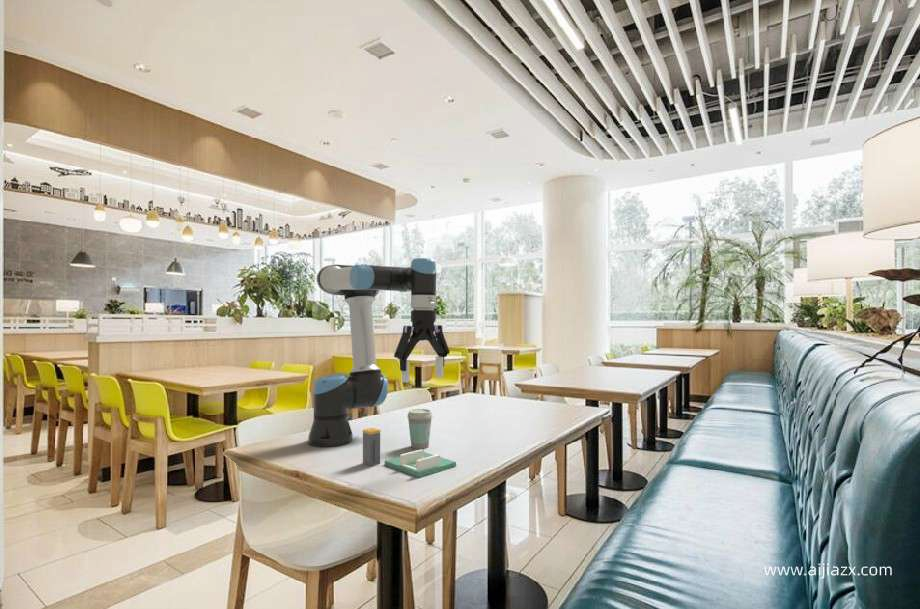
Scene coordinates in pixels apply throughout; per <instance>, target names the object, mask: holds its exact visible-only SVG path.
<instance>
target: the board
mask: <svg viewBox="0 0 920 609" xmlns="http://www.w3.org/2000/svg"><path fill="white" fill-rule="evenodd" d="M424 450H425V449H416V450H413V451H409V452H405V453H402V454H399V456H398V457H393V458H389V459H386V460H384V465H385V466H387V467H390V468H392V469H394V470H398V471H401V472H403V473H406V474H409V475H411V476H413V477H416V478H423V477H426V476H429V475H432V474H436V473H438V472H442V471H445V470H448V469H451V468H454V467H457V462H456V461H454V460H451V459H447V458H444V457H441V455H440V454H438V453H437V454H432V453H428V452H425V451H424Z"/></svg>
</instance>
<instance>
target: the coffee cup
mask: <svg viewBox="0 0 920 609" xmlns="http://www.w3.org/2000/svg"><path fill="white" fill-rule="evenodd" d="M406 418H407V420H408V427H409V428H408V430H409V437H410V446H411V448H413V449H414V450H415V449H416V450H420V449H422V450H425V449H427V448H429V446H430V438H431V437H430V436H431V428H432V418H433V413H432V411H431V410H430V409H428V408H418V409H417V408H416V409H415V408H414V409H411V410H409V411H408V414H407V417H406Z"/></svg>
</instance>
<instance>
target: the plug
mask: <svg viewBox="0 0 920 609" xmlns="http://www.w3.org/2000/svg"><path fill="white" fill-rule="evenodd" d="M362 464H364V465H366V466H369V467H372V466H376V465H380V464H381V429H379V428H375V427H369V428H365V429H364V428H363V429H362Z"/></svg>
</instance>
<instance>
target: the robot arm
mask: <svg viewBox="0 0 920 609" xmlns="http://www.w3.org/2000/svg"><path fill="white" fill-rule="evenodd" d="M436 266H437V264H436V261H435V259H433V258H428V257H426V258H425V257H419V258H417V257H416V258H413V259H412V260H411V264H410V267H404V266H403V267H400V266H386V265H385V266H383V265H374V264H373V265H371V264H362V263H360V264H354V265H352V264H351V265H350V264H349V265H348V264H329V265H326V266H323V267H322V268H321V269H320V270H319V271H318V273H317V275H316V283H317V285H318V286H317V287H319V288H320V290H322V292H325V293H327V294H329V295H333V296H343V297H344V303H346V304H347V305H348V308H349V309H348V310H349V324H350V325H349V326H350V327H349V328H350V341H351V354H352V369H351V370H350V371H349V374H347V373H343V372H342V373H340V372H339V373H331V374H326V375H323V376H319V377H318V378H316V379H315V380H314V383H313V391H312V394H313V421H312V424H311V427H310V430H309V434H308V440H307V442H308V443H307V444H308V445H311V446H313V447H320V448H321V447H323V448H324V447H326V448H327V447H337V446H341V445H345V444H348V443H351V442H352V441H353V431H352V428H351V425H350V421H349V418H348V411H349V410H355V409H362V408H363V409H364V408H372V407H378V406H380V405H382V404H384V402H385V401H386V399H387V396H388V392H389V380H388V378H387V376H386V375H385V374H383V373H382V371H381V370H382V369H381V368H380V367H379V366H378V365H377V355H376V346H375V343H376V342H375V331H374V330H375V329H374V320H373V319H374V317H373V302H374V301H375V300H376V296H378V295H379V293H380V291H391V292H392V291H393V292H400V293H403V292H404V293H406V292H410V308H411V309H412V310H411V311H410V322H411V323H412V324H411V325H403V328H402V334H401V336H400V339H399V342H398V344H397V346H396V350H395V352H394V354H393V357H394V358H396V359H397V360H399V370H400V371H401V382H402V383H407V384H408V383H410V359H408V358H409V356H410V355H411V354H412V352H413V351H414V349H415V347H416V346H417V344H418V343H419V342H420V341H421V342H422V341H427V342H428V343H429V344H430V346H431V347H432V349H433V350H434V352H435V353H436V355H437V356H435V374H434V375H435V378H437V379H443V378H444V367H445V358H446V357H447V356H448V355H450V348H449V346H448V343H447V341H446V338H445V335H444V332H443V325H442V324H441V325H440V324H435V322H436V321H437V316H436V315H437V314H436V313H437V312H436V310H435V309H436V308H437V307H436V305H437V299H436V298H437V295H436V294H437V268H436Z"/></svg>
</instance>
